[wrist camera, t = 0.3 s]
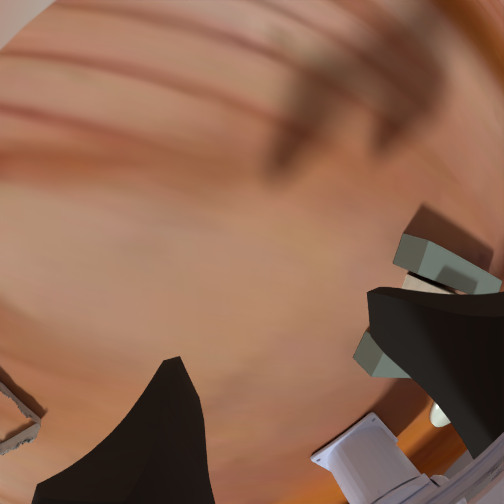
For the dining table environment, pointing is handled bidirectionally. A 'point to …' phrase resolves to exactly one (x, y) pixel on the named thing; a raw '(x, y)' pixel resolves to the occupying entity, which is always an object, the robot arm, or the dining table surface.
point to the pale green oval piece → (438, 416)
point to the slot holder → (435, 268)
